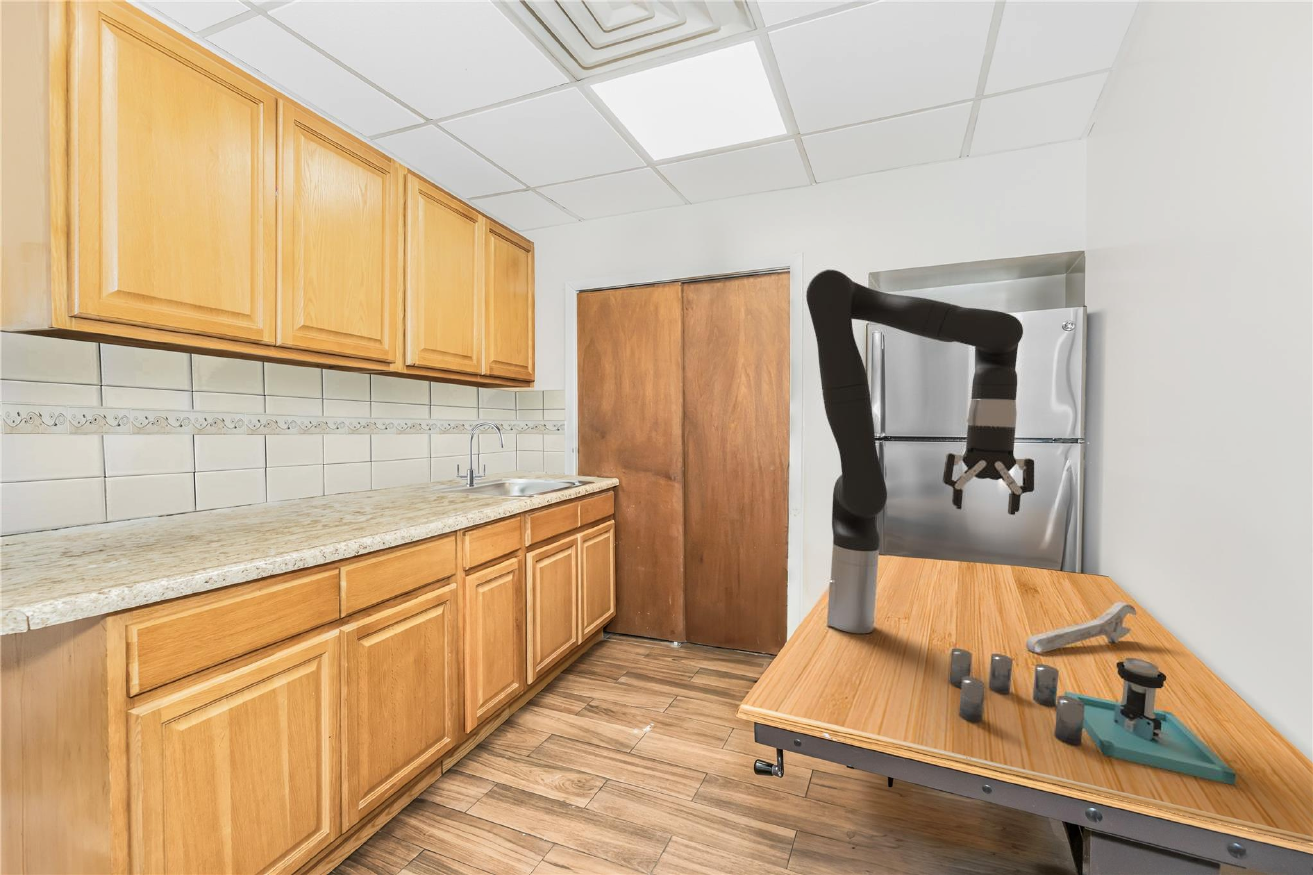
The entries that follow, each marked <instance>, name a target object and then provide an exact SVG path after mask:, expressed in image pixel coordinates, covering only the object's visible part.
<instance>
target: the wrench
mask: <svg viewBox="0 0 1313 875" xmlns="http://www.w3.org/2000/svg"><path fill="white" fill-rule="evenodd" d="M1128 614H1131V615H1133V616H1137V615H1138V614H1137V610H1136V608H1135V607H1134V606H1133V605H1131V604H1129V603H1126V602H1123V601H1117V602H1115V603H1113V604H1112V605H1111V606H1110V607H1109V608H1108V609H1107V610H1106V611H1105V612H1103V614H1100V616H1098V617H1097V618H1095V619H1093V620H1088V621H1085V622H1082V623H1077V624H1074V625H1070V626H1066V627H1062V628H1059V629H1054V630H1050V631H1047V632H1042V633H1039V634H1035V635H1031V636H1029V637H1027V639H1026V642H1025V647H1026V649H1027V650H1028V651H1030V652H1031V653H1035V654H1041V653H1046V652H1050V651H1053V650H1056V649H1059V648H1063V647H1067V646H1069V645H1073V644H1077V643H1080V642H1083V641H1087V640H1090V639H1093V638H1097V637H1100V636H1105V637H1106V639H1107V642H1108V643H1115V644H1118V643H1119V640H1120V639H1122V638H1124V637H1126V636H1127V635H1128V634H1129V633H1130V632H1131V630H1132V629H1131V628H1129V627H1127V626H1125V625H1123V623H1124V619H1125V618H1126V617H1127V616H1128Z"/></svg>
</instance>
